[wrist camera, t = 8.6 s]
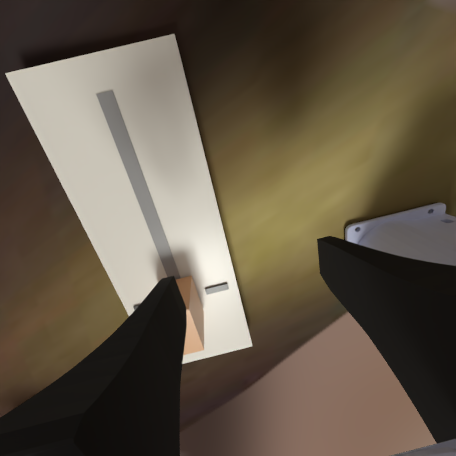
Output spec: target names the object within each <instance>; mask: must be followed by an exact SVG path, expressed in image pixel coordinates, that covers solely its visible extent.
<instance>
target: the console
mask: <svg viewBox="0 0 456 456" xmlns="http://www.w3.org/2000/svg"><path fill="white" fill-rule="evenodd" d="M5 74H6V76H7V78H8V80H9V82H10V84H11V86H12V88H13V90H14V92H15V94H16V96H17V98H18V100H19V102H20V104H21V106H22V108H23V110H24V111H25V113H26V115H27V117H28V119H29V121H30V123H31V125H32V127H33V129H34V131H35V133H36V135H37V137H38V139H39V141H40V143H41V145H42V147H43V149H44V151H45V153H46V155H47V156H48V158H49V160H50V162H51V164H52V166H53V168H54V170H55V172H56V174H57V176H58V178H59V180H60V182H61V184H62V186H63V188H64V190H65V192H66V194H67V196H68V198H69V200H70V201H71V203H72V205H73V207H74V209H75V211H76V213H77V215H78V217H79V219H80V221H81V223H82V225H83V227H84V229H85V231H86V233H87V235H88V237H89V239H90V241H91V243H92V245H93V246H94V248H95V250H96V252H97V254H98V256H99V258H100V260H101V262H102V264H103V266H104V268H105V270H106V272H107V274H108V276H109V278H110V280H111V282H112V284H113V286H114V288H115V290H116V291H117V293H118V295H119V297H120V299H121V301H122V303H123V305H124V307H125V309H126V311H127V313H128V315H129V316H130V315H131V314H132V313H133V312H134V311H135V310H136V308H137V307H138V306H139V305H140V304H141V303H142V301H143V300H144V299H145V298H146V297H147V295H148V294H149V293H150V292H151V291H152V289H153V288H154V287H155V286H156V284H157V283H158V282H159V281H160V280H161V279H162V278H166V277H170V276H174V277H175V280H176V279H180V278H184V277H188V276H192V278H193V281H194V284H195V287H196V290H197V293H198V296H199V299H200V302H201V305H202V308H203V311H204V350H202V351H198V352H194V353H190V354H187V355H183V362H182V364H184V363H188V362H192V361H196V360H200V359H204V358H208V357H211V356H215V355H219V354H223V353H227V352H231V351H235V350H239V349H243V348H247V347H251V346H252V342H251V338H250V334H249V330H248V326H247V322H246V318H245V314H244V310H243V306H242V302H241V297H240V293H239V289H238V285H237V281H236V277H235V273H234V269H233V265H232V261H231V257H230V253H229V249H228V245H227V241H226V237H225V233H224V229H223V225H222V221H221V217H220V213H219V209H218V205H217V201H216V197H215V193H214V189H213V185H212V181H211V177H210V173H209V169H208V165H207V161H206V157H205V153H204V149H203V145H202V141H201V137H200V133H199V129H198V125H197V121H196V117H195V113H194V109H193V105H192V101H191V97H190V93H189V89H188V85H187V81H186V77H185V73H184V69H183V65H182V61H181V57H180V53H179V49H178V45H177V41H176V38H175V34H171V35H167V36H163V37H158V38H154V39H150V40H146V41H141V42H137V43H133V44H129V45H124V46H120V47H116V48H112V49H107V50H103V51H99V52H94V53H90V54H86V55H82V56H77V57H73V58H69V59H65V60H60V61H56V62H52V63H48V64H43V65H39V66H35V67H31V68H26V69H22V70H18V71H14V72H9V73H5Z"/></svg>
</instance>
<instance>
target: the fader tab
mask: <svg viewBox="0 0 456 456" xmlns="http://www.w3.org/2000/svg"><path fill="white" fill-rule="evenodd" d="M176 282H177V285H178V287H179V290H180V293H181V295H182V298H183V300H184V303H185V306H186V315H187V328H186V337H185V346H184V354H183V355H187V354H190V353H194V352H198V351H202V350H204V311H203V308H202V305H201V302H200V299H199V296H198V293H197V290H196V287H195V284H194V281H193V278H192V276H188V277H184V278H180V279H176Z"/></svg>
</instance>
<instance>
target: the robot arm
mask: <svg viewBox="0 0 456 456" xmlns="http://www.w3.org/2000/svg"><path fill="white" fill-rule="evenodd" d="M428 211H429V212H428ZM445 211H446V205H445V204H443V203H436V204H431V205H427V206H423V207H419V208H415V209H411V210H407V211H403V212H399V213H395V214H391V215H387V216H383V217H379V218H375V219H371V220H367V221H363V222H359V223H354V224H350V225H348V226H347V227H346V229H345V240H343V239H339V238H336V237H332V236H327V237H324V238H320V239H317V242H318V254H319V266H320V274H321V276H322V277H323V279H324V281H325V282H326V284H327V285H328V287H329V289H330V290H331V291H332V293H333V294H334V295H335V296H336V297H337V299H338V300H339V301H340V302H341V303H342V305H343V306H344V307H345V308H346V309H347V310H348V312H349V313H350V314H351V315H352V316H353V317H354V319H355V320H356V321H357V322H358V323H359V324H360V326H361V327H362V328H363V329H364V331H365V332H366V333H367V335H368V336H369V337H370V339H371V340H372V342H373V343H374V344H375V345H376V347H377V349H378V350H379V352H380V353H381V355H382V356H383V358H384V359H385V361H386V362H387V364H388V365H389V367H390V368H391V369H392V371H393V372H394V374H395V375H396V377H397V379H398V380H399V382H400V383H401V385H402V386H403V388H404V390H405V391H406V393H407V394H408V396H409V398H410V399H411V401H412V403H413V404H414V406H415V407H416V409H417V411H418V412H419V414H420V416H421V417H422V419H423V421H424V422H425V424H426V426H427V427H428V429H429V431H430V433H431V434H432V436H433V438H434V439H435V441H436V442H437V444H433V445H430V446H426V447H422V448H418V449H414V450H411V451H407V452H403V453H399V454H395V455H391V456H456V217H454V216H451V215H448V214H445ZM357 227H358V229H357V230H355V229H356V228H357ZM186 328H187V315H186V306H185V303H184V300H183V298H182V295H181V293H180V290H179V287H178V285H177V282H176V280H175V277H174V276H170V277H166V278H162V279H161V280H160V281H159V282H158V283H157V284H156V286H155V287H154V288H153V289H152V291H151V292H150V293H149V294H148V295H147V297H146V298H145V299H144V300H143V301H142V303H141V304H140V305H139V306H138V307H137V308H136V310H135V311H134V312H133V313H132V314H131V315H130V316H129V317H128V318H127V320H126V321H125V322H124V323H123V324H122V325H121V326H120V327H119V328H118V329H117V330H116V331H115V332H114V333H113V334H112V335H111V336H110V337H109V338H108V339H107V340H105V341H104V342H103V343H102V344H101V345H100V346H99V347H98V348H96V349H95V350H94V351H93V352H92V353H90V354H89V355H88V356H87V357H86V358H84V359H83V360H82V361H81V362H80V363H78V364H77V365H76V366H75V367H73V368H72V369H71V370H69V371H68V372H67V373H65V374H64V375H63V376H62V377H60V378H59V379H57V380H56V381H55V382H53V383H52V384H50V385H49V386H48V387H46V388H45V389H43V390H42V391H40V392H39V393H38V394H36V395H35V396H33V397H31V398H30V399H28V400H27V401H25V402H24V403H22V404H21V405H19V406H18V407H16V408H15V409H13V410H12V411H10V412H9V413H7V414H5V415H4V416H2V417H1V418H0V456H180V447H179V446H180V443H179V428H180V381H181V370H182V362H183V354H184V346H185V337H186Z"/></svg>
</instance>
